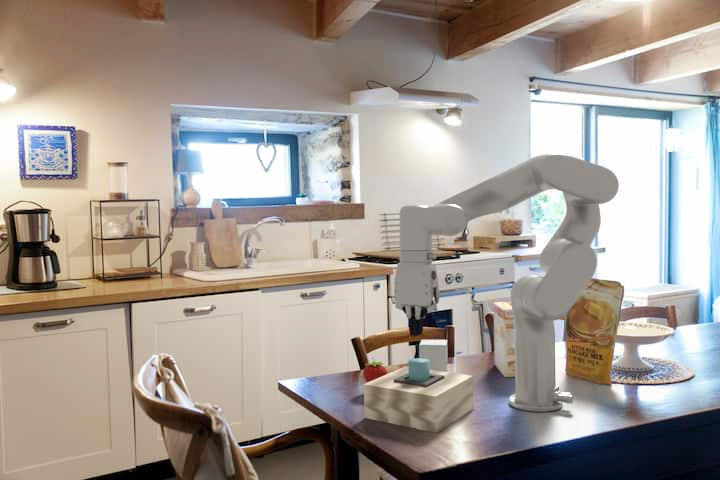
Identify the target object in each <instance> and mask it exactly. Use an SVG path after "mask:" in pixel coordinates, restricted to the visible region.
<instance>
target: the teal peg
mask: <svg viewBox="0 0 720 480" xmlns="http://www.w3.org/2000/svg"><path fill="white" fill-rule="evenodd" d="M407 361H408V363H407V365H408V366H407V367H408V369H409V380H413V381H420V382H425V381H427V380H429V379H430V362H429V360H428V359H422V358H419V357H417V358H411V359H408V360H407Z"/></svg>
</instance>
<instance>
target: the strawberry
mask: <svg viewBox="0 0 720 480" xmlns="http://www.w3.org/2000/svg"><path fill="white" fill-rule="evenodd" d="M371 357H372V359H373V361H371V362H369V363H365V364H364V366H365V367H364V369H363V376H364V377H363V378H364V380H365V383H368V382H370V381H373V380H375V379H377V378H380V377H382V376H384V375H386V374H388V371H387V369H386V367H384V366H382V365H383V362H382V361H377V362H376V361H375V358H373V356H371Z"/></svg>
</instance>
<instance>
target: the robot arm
mask: <svg viewBox="0 0 720 480" xmlns="http://www.w3.org/2000/svg"><path fill="white" fill-rule="evenodd" d="M619 187H620V184H619V179H618V178H617V175H616V174H615V172H613V171H612V170H610V169H609V168H607V167H605V166H602V165H599V164H596V163H593V162H590V161H586V160H583V159H581V158H578V157H574V156H572V155H568V154H566V153H562V152H561V153H560V152H548V153H544V154H539V155H536V156H534V157H531V158H529V159H527V160H525V161H523V162H520V163H519V164H517V165H515V166H512V167H510V168H509V169H507V170H505V171H502V172H501V173H499V174H496V175H494V176H493V177H489V178H488V179H486V180H484V181H482V182H480V183H478V184H475V185H474V186H472V187H469V188H467V189H465V190H464V191H461V192H459V193H457V194H454V195H453V196H450V197H447V198H446V199H444V200H442V201H440V202H438V203H437V204H435V205H433V206H428V205H423V204H422V205H421V204H417V205H416V204H415V205H414V204H412V205H404V206H402V207H400V209H399V262H398V263H397V266H396V270H395V276H394V277H395V278H394V287H393V288H394V290H393V292H394V293H393V296H394V302H395V308H396V309H398V310H400V311H403V313H404V314H405V315H406V318H407V319H408V331H409V336H411V337H419V336H421V335H422V334H423V332H424V319H425V318H426V316H427V315H428V314H430V313H434V312H437V311H438V308H437V307H438V306H437V305H438V304H439V303H440V286H439V276H438V272H437V271H438V270H437V267H436V263H433V260H436V259H437V253H433V246H432V245H433V243H432V241H433V239H432V238H433V237H432V235H435V236H436V235H437V236H443V237H445V236H446V237H454V236H458V235H460V234H461V233H463V232H464V230H465V229H466V227H467V225H468V222H470V221H472V220H475V219H478V218H481V217H484V216H488V215H492V214H494V215H495V214H498V213H501V212H504V211H507V210H509V209H511V208H514V207H516V206H517V205H519V204H521V203H523V202H525V201H527V200H529V199H531V198H532V197H533V198H534V197H535V196H537V195H539V194H541V193H544V192H546V191H548V190H557V191H560V192H562V195H563V198H564V201H565V205H566V209H565V210H566V211H565V216H564V218H563V220H562V222H561V223H560V225H559V226H558V228H557V230H556V231H555V232H554V234H553V235H552V236H551V238H549V241H548V242H547V244H546V245H545V246H544V248H543V249H542V251H541V253H540V255H539V258H538V259H539V260H538V263H539V267H540V269H541V270H542V271H543V272H544V273H545V275H544V276H540V275H535V274H534V275H533V274H528V275H524V276H522V277H520V278H518V279H517V280H516V281H515V283H514V284H513V286H512V288H511V291H510V302H511V305H512V311H513V318H514V334H515V377H514V383H515V384H514V386H515V387H514V389H515V392H514V394H511V395H510V396H509V398H508V403H509V405H510V406H511V407H514V408H516V409H518V410H522V411H527V412H535V413H537V412H539V413H541V412H543V413H544V412H552V411H556V410H559V409H561V408H562V407H563V403H564V404H570V405H572V404H573V402H574V396H573V395H572V393H570V392H562V391H561V390H560V385H558V384H557V385H556V331H555V322H554V321H557V320H559V319H561V318H564V317H565V314H566V313H567V312H568V311H569V310H570V309H571V308H572V306H573V305H574V303H575V302H576V301H577V299H578V298H579V296H580V295H581V293H582V292H583V290H584V289H585V288H586V286H587V285H588V283H589V282H590V280H591V279H592V278H594V275H595V273H596V270H597V266H598V265H597V264H598V258H597V253H596V252H595V250H594V248H593V247H592V246H591V245H592V243H593V241H594V240H595V238H596V236H597V234H598V233H599V230H600V227H601V209H600V205H603V204H606V203H608V202H610V201H612V200H613V199H614V198H615V197H616V195H617V194H618V191H619Z"/></svg>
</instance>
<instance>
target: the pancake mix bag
mask: <svg viewBox="0 0 720 480" xmlns="http://www.w3.org/2000/svg"><path fill="white" fill-rule="evenodd" d="M624 296H625V285H622V283H621V281H616V280H608V279H597V278H594V277H592V279H591V280H590V282H589V283H588V285H587V286H586V288H585V289H584V290H583V292H582V293H581V295H580V296H579V298H578V299H577V301H576V302H575V303H574V305H573V306H572V308H571V309H570V310H569V311H568V312H567V313H566V314H565V315H564V328H565V347H566V356H565V357H566V358H565V370H564V372H565V373H567V375H568V376H571V377H573V378H576V379H580V380H582V381H587V382H591V383H593V384H597V385H610V386H613V384H612V377H611V370H612V365H613V360H614V356H615V355H614V353H615V348H616V347H615V346H616V341H617V336H618V327H619V324H620V318H621V312H622V305H623V301H624Z"/></svg>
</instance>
